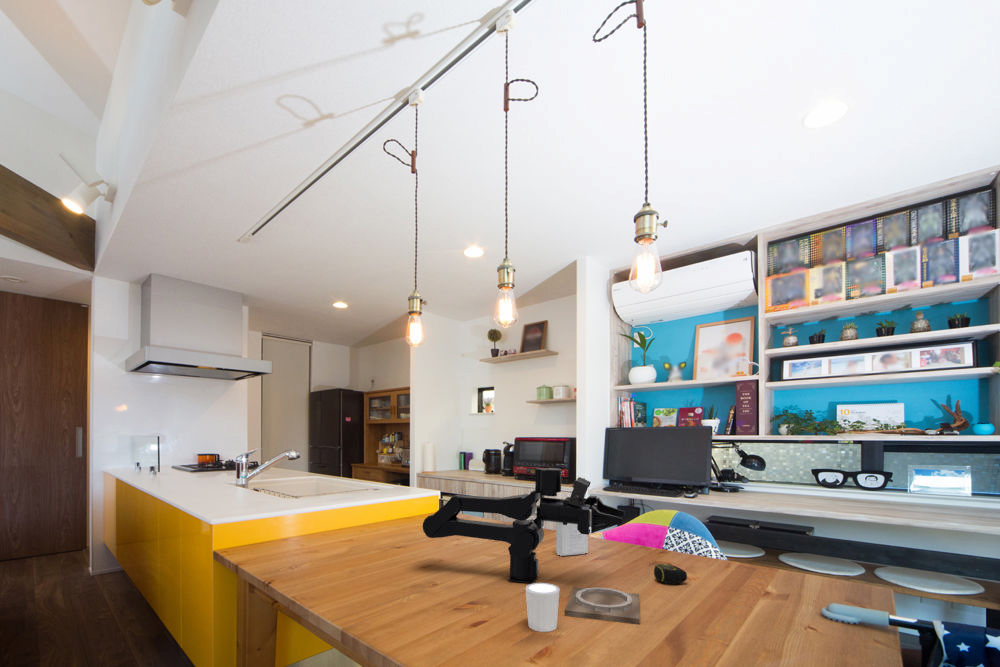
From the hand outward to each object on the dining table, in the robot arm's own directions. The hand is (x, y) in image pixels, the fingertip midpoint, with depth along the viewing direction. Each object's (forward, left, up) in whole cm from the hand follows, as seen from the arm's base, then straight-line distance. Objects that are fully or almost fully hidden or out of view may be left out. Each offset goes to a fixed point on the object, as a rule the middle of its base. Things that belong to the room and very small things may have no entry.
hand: (623, 516), depth 121 cm
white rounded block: (-16, +29, -17) cm, 37 cm away
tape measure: (+11, +11, -17) cm, 23 cm away
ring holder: (-4, -12, -17) cm, 21 cm away
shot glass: (-15, -26, -17) cm, 35 cm away
